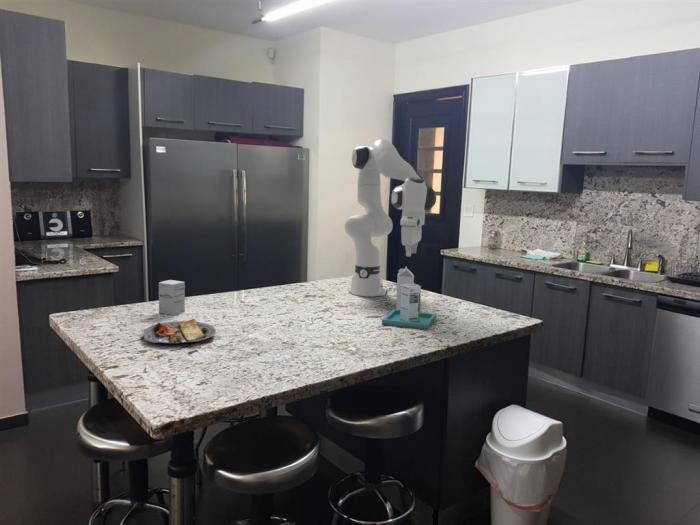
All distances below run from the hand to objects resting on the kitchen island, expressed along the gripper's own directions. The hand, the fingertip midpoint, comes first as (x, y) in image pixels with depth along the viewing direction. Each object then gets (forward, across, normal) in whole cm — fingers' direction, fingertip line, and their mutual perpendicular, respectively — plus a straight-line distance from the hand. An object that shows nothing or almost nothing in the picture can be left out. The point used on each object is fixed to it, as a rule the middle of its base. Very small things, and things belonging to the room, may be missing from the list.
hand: (411, 254), depth 211 cm
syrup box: (+27, 0, +1) cm, 27 cm away
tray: (+27, +1, +1) cm, 27 cm away
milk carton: (+27, -19, -6) cm, 34 cm away
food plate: (+28, +56, -68) cm, 92 cm away
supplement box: (+28, +30, -90) cm, 99 cm away
